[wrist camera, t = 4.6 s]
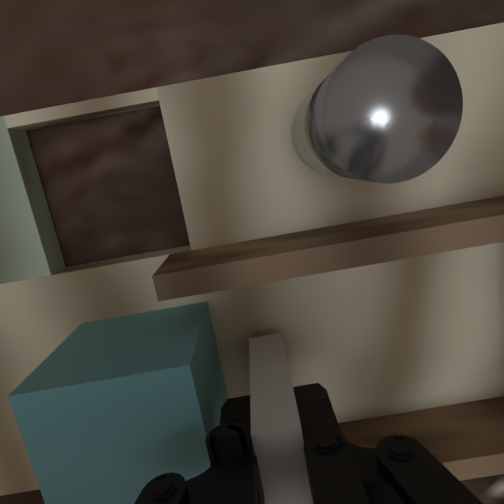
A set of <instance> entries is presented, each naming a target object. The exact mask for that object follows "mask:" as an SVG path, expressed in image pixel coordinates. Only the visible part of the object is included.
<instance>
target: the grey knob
mask: <svg viewBox="0 0 504 504" xmlns="http://www.w3.org/2000/svg"><path fill="white" fill-rule="evenodd" d="M462 112H463V96H462V89H461V85H460V81H459V78H458V76H457V73H456V71H455V69H454V67H453V66H452V64H451V62H450V61H449V60H448V58H447V57H446V56H445V55H444V54H443V53H442V52H441V51H440V50H439V49H438V48H436V47H435V46H433V45H432V44H430V43H428V42H426V41H424V40H422V39H419V38H416V37H413V36H408V35H388V36H382V37H379V38H375V39H373V40H370V41H368V42H366V43H364V44H362V45H361V46H359V47H357V48H356V49H355V50H353V51H352V52H351V53H350V54H349V55H348V56H347V57H346V58H344V59H343V60H342V62H341V63H340V64H339V65H338V66H337V67H336V68H335V69H334V70H333V71H332V72H331V73H330V74H329V75H328V76H327V77H326V78H325V79H324V80H323V81H322V82H321V83H320V84H319V85H318V86H317V87H316V89H315V90H314V91H313V92H312V93H311V94H310V95H309V96H308V97H307V98H306V99H305V100H304V101H303V102H302V103H301V105H300V106H299V108H298V109H297V111H296V113H295V116H294V119H293V122H292V130H291V135H292V142H293V146H294V149H295V151H296V153H297V155H298V157H299V158H300V159H301V161H302V162H303V163H304V164H305V165H306V166H308V167H309V168H311V169H312V170H314V171H316V172H319V173H322V174H327V175H333V176H339V177H345V178H351V179H357V180H363V181H369V182H375V183H381V184H392V183H400V182H404V181H408V180H410V179H413V178H416V177H418V176H420V175H421V174H423V173H425V172H426V171H428V170H429V169H431V168H432V167H433V166H434V165H435V164H437V163H438V162H439V161H440V160H441V159H442V157H443V156H444V155H445V154H446V153H447V151H448V150H449V148H450V147H451V145H452V143H453V141H454V139H455V138H456V135H457V132H458V130H459V127H460V123H461V119H462Z"/></svg>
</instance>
